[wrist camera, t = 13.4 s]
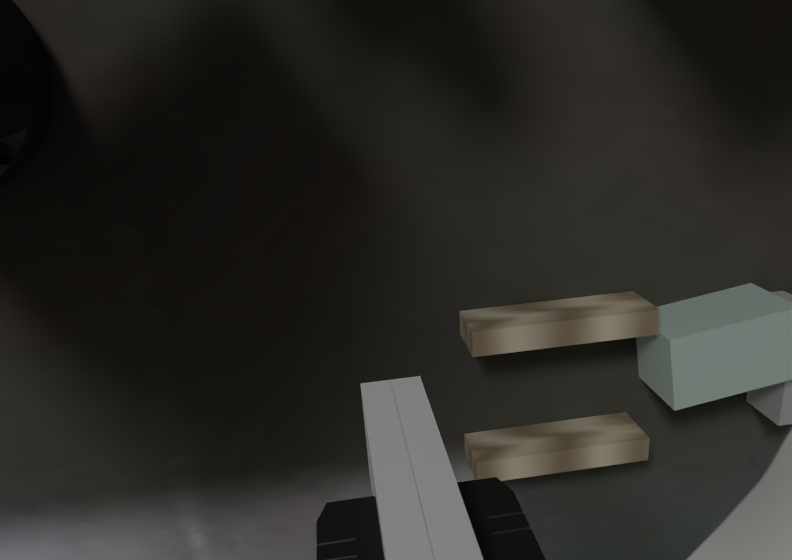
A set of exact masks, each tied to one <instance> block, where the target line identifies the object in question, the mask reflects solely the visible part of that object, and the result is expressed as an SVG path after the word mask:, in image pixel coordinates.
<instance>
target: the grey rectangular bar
mask: <svg viewBox="0 0 792 560" xmlns="http://www.w3.org/2000/svg"><path fill="white" fill-rule="evenodd" d="M771 293H773V294H775V295H777V296H779V297H781V298H783V299H785V300H787V301H789V302H791V303H792V295H791V294H789V293H787V292H785V291H777V292H771ZM746 401H747V402H748V403H749V404H751V405H752V406H753V407H755V408H756V409H757V410H758V411H760V412H761V413H762V414H764V415H765V416H766V417H768V418H769V419H770V420H772V421H773V422H774V423H775V424H777V425H778V426H781V425H788V424H792V380H789V381H785V382H781V383H777V384H774V385H770V386H766V387H762V388H759V389H755V390H751V391H747V395H746Z"/></svg>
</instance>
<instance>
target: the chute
mask: <svg viewBox="0 0 792 560" xmlns="http://www.w3.org/2000/svg"><path fill="white" fill-rule="evenodd" d="M459 312H460V335H461V337H462V339H463V340H464V342H465V344H466V346H467V348H468V349H469V351H470V353H471V355H472V357H479V356H488V355H496V354H504V353H512V352H520V351H528V350H536V349H545V348H553V347H561V346H569V345H577V344H585V343H593V342H602V341H610V340H618V339H626V338H634V337H642V336H650V335H658V325H659V312H660V309H658V308H657V307H655V306H654V305H652V304H651V303H649V302H648V301H646V300H645V299H644V298H642V297H641V296H639V295H638V294H636V293H635V292H633V291H629V292H621V293H612V294H603V295H595V296H586V297H577V298H569V299H560V300H551V301H543V302H534V303H525V304H517V305H508V306H499V307H491V308H482V309H473V310H464V311H459ZM464 438H465V455H466V458H467V460H468V463H469V465H470V468H471V470H472V473H473V475H474V478H475V480H479V479H486V478H493V477H497V478H498V479H499V480H500V481H505V480H512V479H519V478H526V477H533V476H540V475H547V474H554V473H561V472H568V471H575V470H581V469H588V468H595V467H602V466H609V465H616V464H623V463H630V462H637V461H644V460H648V454H649V441H650V438H649V437H648V436H647V435H646V434H645V433H644V432H643V431H642V430H641V428H640V427H639V426H638V425H637V424H636V423H635V422H634V421H633V420H632V419H631V418H630V416H629V415H628V414H627V413H626V412H622V413H615V414H607V415H600V416H592V417H585V418H578V419H570V420H563V421H555V422H548V423H541V424H533V425H526V426H518V427H511V428H503V429H496V430H489V431H481V432H474V433H466V434H464Z"/></svg>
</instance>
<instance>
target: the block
mask: <svg viewBox="0 0 792 560" xmlns="http://www.w3.org/2000/svg"><path fill="white" fill-rule="evenodd" d="M657 308H658V309H660V312H659V325H658V335H650V336H642V337H636V346H637V358H638V369H639V378H640V379H641V380H642V381H644V382H645V383H646V384H647V385H648V386H649V387H650V388H651V389H652V390H653V391H654V392H655V393H656V394H657V395H658V396H659V397H661V398H662V399H663V400H664V401H665V402H666V403H667V404H668V405H669V406H670V407H671V408H672V409H673V410H674V411H675V410H679V409H683V408H687V407H691V406H694V405H698V404H702V403H706V402H709V401H713V400H717V399H721V398H725V397H728V396H732V395H736V394H740V393H743V392H747V391H751V390H755V389H759V388H762V387H766V386H770V385H774V384H777V383H781V382H785V381H789V380H792V303H791V302H789V301H787V300H785V299H783V298H781V297H779V296H777V295H775V294H773V293H771V292H769V291H766V290H764V289H762V288H760V287H758V286H756V285H754V284H752V283H749V284H745V285H741V286H737V287H734V288H730V289H726V290H722V291H718V292H714V293H710V294H706V295H702V296H698V297H694V298H690V299H687V300H683V301H679V302H675V303H671V304H667V305H663V306H659V307H657Z"/></svg>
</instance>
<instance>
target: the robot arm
mask: <svg viewBox="0 0 792 560" xmlns="http://www.w3.org/2000/svg"><path fill="white" fill-rule="evenodd" d="M50 108H51V89H50V81H49V75H48V70H47V66H46V62H45V59H44V56H43V53H42V51H41V48H40V46H39V43H38V41H37V39H36V37H35V35H34V33H33V31H32V29H31V28H30V26H29V24H28V23H27V21H26V20H25V18H24V17H23V15H22V14H21V12H20V11H19V10H18V9H17V7H16V6H15V5H14V3H13V2H12V1H11V0H0V187H1V186H2V185H4V184H6V183H7V182H9V181H10V180H12V179H13V178H14V177H15V176H17V175H18V174H19V173H20V172H21V171H22V170H23V169H24V168H25V167H26V166H27V165H28V164H29V162H30V161H31V160H32V158H33V157H34V156H35V154H36V152H37V151H38V149H39V147H40V145H41V143H42V141H43V139H44V136H45V133H46V130H47V126H48V122H49V117H50ZM360 385H361V395H362V404H363V414H364V424H365V434H366V444H367V453H368V463H369V473H370V481H371V488H372V496H371V497H364V498H357V499H350V500H343V501H336V502H329V503H326V505H325V507H324V509H323V511H322V513H321V515H320V517H319V518H318V520H317V560H546V559H545V557H544V555H543V553H542V551H541V549H540V547H539V545H538V542H537V540H536V538H535V536H534V534H533V532H532V530H530V526H529V523H528V521H527V519H526V517H525V515H524V514H523V512H522V509H521V507H520V504H519V502H518V500H517V498H516V496H515V494H514V492H513V491H512V490H511V489H510V488H509V487H507V486H506V485H505V484H504V483H503V482H501V481H500V480H499V479H498V478H497V477H493V478H486V479H479V480H472V481H465V482H456V479H455V476H454V473H453V470H452V467H451V464H450V461H449V459H448V456H447V453H446V450H445V447H444V444H443V441H442V438H441V435H440V432H439V430H438V427H437V424H436V421H435V418H434V415H433V412H432V409H431V406H430V404H429V401H428V398H427V395H426V392H425V389H424V386H423V383H422V380H421V378H420V376H417V377H409V378H401V379H393V380H384V381H376V382H368V383H360Z"/></svg>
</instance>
